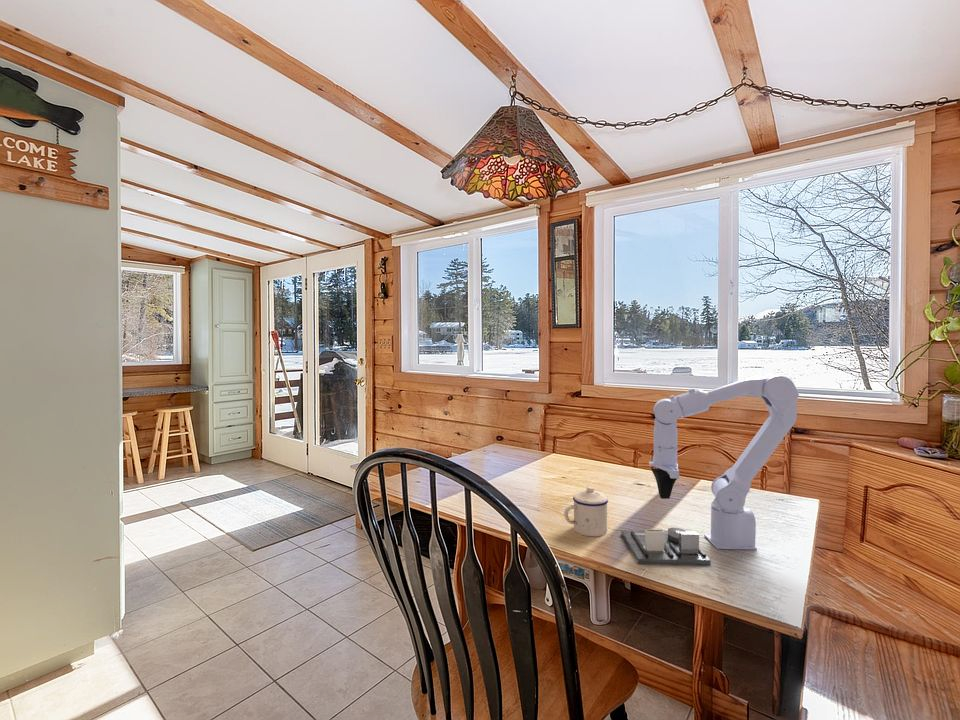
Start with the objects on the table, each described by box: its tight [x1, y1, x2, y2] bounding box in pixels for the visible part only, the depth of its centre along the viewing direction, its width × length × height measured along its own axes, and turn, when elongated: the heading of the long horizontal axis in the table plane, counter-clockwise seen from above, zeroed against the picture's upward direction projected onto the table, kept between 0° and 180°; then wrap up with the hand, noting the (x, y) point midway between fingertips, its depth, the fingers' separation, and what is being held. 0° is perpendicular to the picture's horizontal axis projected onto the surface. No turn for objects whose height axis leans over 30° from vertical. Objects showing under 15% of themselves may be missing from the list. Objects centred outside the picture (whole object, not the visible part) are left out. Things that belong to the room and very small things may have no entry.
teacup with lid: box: [563, 486, 609, 538], centre depth 126 cm, size 12×9×12 cm
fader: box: [644, 528, 665, 551], centre depth 112 cm, size 4×2×5 cm, turn 87°
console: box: [620, 527, 711, 566], centre depth 115 cm, size 16×16×6 cm
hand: (664, 497), depth 123 cm, fingers closed
